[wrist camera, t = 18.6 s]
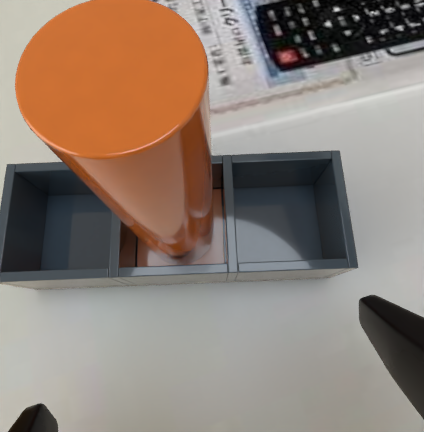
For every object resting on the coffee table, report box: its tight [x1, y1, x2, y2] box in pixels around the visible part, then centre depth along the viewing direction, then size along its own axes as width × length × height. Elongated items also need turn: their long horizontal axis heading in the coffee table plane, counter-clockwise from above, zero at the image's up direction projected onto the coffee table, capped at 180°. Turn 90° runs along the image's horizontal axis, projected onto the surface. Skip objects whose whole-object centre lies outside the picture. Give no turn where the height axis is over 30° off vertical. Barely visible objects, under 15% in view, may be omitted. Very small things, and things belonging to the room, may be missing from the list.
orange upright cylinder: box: [15, 0, 214, 265], centre depth 13 cm, size 4×4×13 cm
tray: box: [0, 151, 358, 290], centre depth 18 cm, size 16×6×4 cm, turn 92°
